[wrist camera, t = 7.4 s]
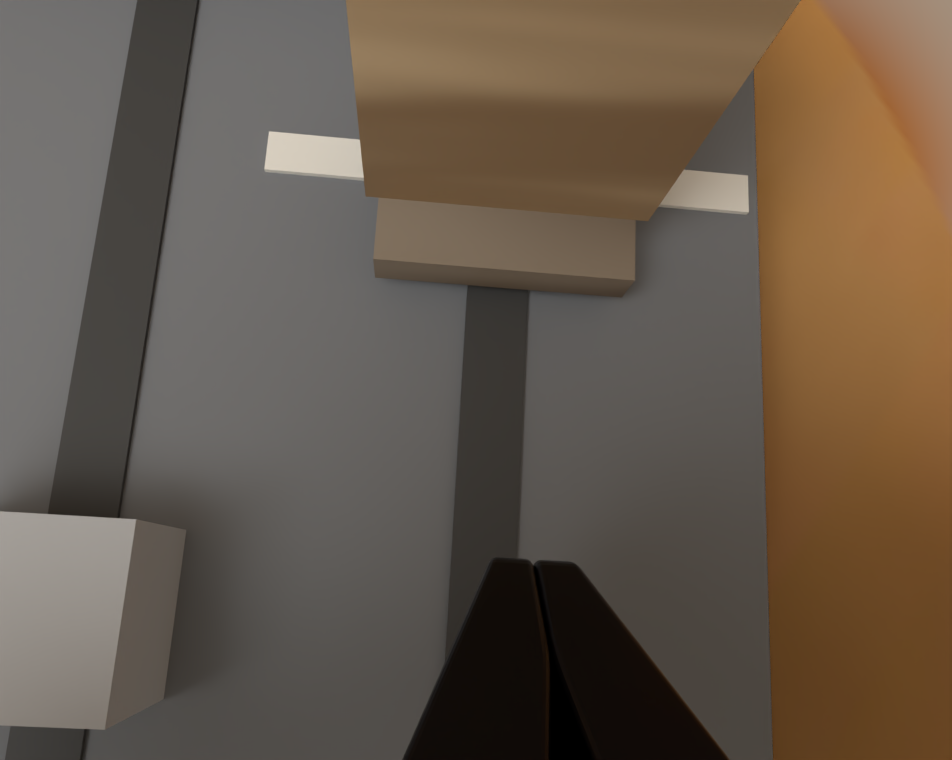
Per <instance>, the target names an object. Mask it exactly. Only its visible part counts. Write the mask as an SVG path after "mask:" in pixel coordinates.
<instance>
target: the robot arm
mask: <svg viewBox="0 0 952 760" xmlns="http://www.w3.org/2000/svg"><path fill="white" fill-rule="evenodd" d="M402 760H730V759H729V758H728V757H727V755H726V754H725V753H724V751H723V750H722V749H721V748H720V746H719V745H718V744H717V742H716V741H715V740H714V739H713V737H712V736H711V735H710V733H709V732H708V731H707V730H706V728H705V727H704V726H703V724H702V723H701V722H700V721H699V719H698V718H697V717H696V715H695V714H694V713H693V712H692V710H691V709H690V708H689V706H688V705H687V704H686V703H685V701H684V700H683V699H682V698H681V696H680V695H679V694H678V692H677V691H676V690H675V689H674V687H673V686H672V685H671V683H670V682H669V681H668V680H667V678H666V677H665V676H664V674H663V673H662V672H661V671H660V669H659V668H658V667H657V665H656V664H655V663H654V662H653V660H652V659H651V658H650V656H649V655H648V654H647V653H646V651H645V650H644V649H643V647H642V646H641V645H640V644H639V642H638V641H637V640H636V638H635V637H634V636H633V635H632V633H631V632H630V631H629V629H628V628H627V627H626V626H625V624H624V623H623V622H622V621H621V619H620V618H619V617H618V615H617V614H616V613H615V612H614V610H613V609H612V608H611V606H610V605H609V604H608V603H607V601H606V600H605V599H604V597H603V596H602V595H601V594H600V592H599V591H598V590H597V588H596V587H595V586H594V585H593V583H592V582H591V581H590V579H589V578H588V577H587V576H586V574H585V573H584V572H583V570H582V569H581V568H580V567H579V566H578V565H577V564H575V563H574V562H570V561H554V560H538V561H536V562H535V563H534V565H533V564H532V562H531V561H529V560H528V559H520V558H502V557H495V558H493V559H491V560H490V561H489V563H488V565H487V567H486V570H485V572H484V574H483V577H482V579H481V581H480V583H479V586H478V588H477V590H476V592H475V595H474V597H473V599H472V602H471V604H470V606H469V608H468V611H467V613H466V615H465V618H464V620H463V622H462V624H461V627H460V629H459V631H458V634H457V636H456V638H455V640H454V643H453V645H452V647H451V650H450V652H449V654H448V656H447V659H446V661H445V663H444V665H443V668H442V670H441V672H440V675H439V677H438V679H437V681H436V684H435V686H434V688H433V691H432V693H431V695H430V697H429V700H428V702H427V704H426V707H425V709H424V711H423V713H422V716H421V718H420V720H419V722H418V725H417V727H416V729H415V732H414V734H413V736H412V738H411V741H410V743H409V745H408V748H407V750H406V752H405V754H404V757H403V759H402Z"/></svg>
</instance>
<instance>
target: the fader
mask: <svg viewBox="0 0 952 760" xmlns="http://www.w3.org/2000/svg"><path fill="white" fill-rule="evenodd" d="M800 1H801V0H346V7H347V17H348V27H349V37H350V47H351V57H352V67H353V77H354V87H355V97H356V107H357V117H358V127H359V137H360V147H361V156H362V166H363V176H364V186H365V196H366V197H377V198H379V199H378V211H377V222H376V233H375V244H374V256H373V262H374V272H375V278H386V279H399V280H411V281H424V282H436V283H448V284H461V285H473V286H485V287H498V288H510V289H522V290H535V291H547V292H560V293H572V294H584V295H597V296H609V297H621V298H622V296H623V295H624V294H625V293H626V291H627V290H628V289H629V288H630V286H631V285H632V284H633V282H634V281H635V234H636V220H640V221H649V219H650V218H651V216H652V215H653V214H654V212H655V211H656V209H657V208H658V206H659V205H660V203H661V202H662V201H663V199H664V198H665V196H666V195H667V193H668V192H669V190H670V189H671V187H672V186H673V185H674V183H675V182H676V180H677V179H678V177H679V176H680V174H681V173H682V172H683V170H684V169H685V167H686V166H687V164H688V163H689V161H690V160H691V159H692V157H693V156H694V154H695V153H696V151H697V150H698V148H699V147H700V146H701V144H702V143H703V141H704V140H705V138H706V137H707V135H708V134H709V132H710V131H711V130H712V128H713V127H714V125H715V124H716V122H717V121H718V119H719V118H720V117H721V115H722V114H723V112H724V111H725V109H726V108H727V106H728V105H729V104H730V102H731V101H732V99H733V98H734V96H735V95H736V93H737V92H738V91H739V89H740V88H741V86H742V85H743V83H744V82H745V80H746V79H747V77H748V76H749V75H750V73H751V72H752V70H753V69H754V67H755V66H756V64H757V63H758V62H759V60H760V59H761V57H762V56H763V54H764V53H765V51H766V50H767V49H768V47H769V46H770V44H771V43H772V41H773V40H774V38H775V37H776V36H777V34H778V33H779V31H780V30H781V28H782V27H783V25H784V24H785V22H786V21H787V20H788V18H789V17H790V15H791V14H792V12H793V11H794V9H795V8H796V7H797V5H798V4H799V2H800Z"/></svg>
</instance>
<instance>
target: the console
mask: <svg viewBox="0 0 952 760" xmlns="http://www.w3.org/2000/svg"><path fill="white" fill-rule="evenodd" d="M378 199H379V198H377V197H366V196H365V186H364V176H363V166H362V156H361V147H360V137H359V127H358V117H357V107H356V97H355V87H354V77H353V67H352V57H351V47H350V37H349V27H348V17H347V7H346V0H0V760H402V759H403V757H404V754H405V752H406V750H407V748H408V745H409V743H410V741H411V738H412V736H413V734H414V732H415V729H416V727H417V725H418V722H419V720H420V718H421V716H422V713H423V711H424V709H425V707H426V704H427V702H428V700H429V697H430V695H431V693H432V691H433V688H434V686H435V684H436V681H437V679H438V677H439V675H440V672H441V670H442V668H443V665H444V663H445V661H446V659H447V656H448V654H449V652H450V650H451V647H452V645H453V643H454V640H455V638H456V636H457V634H458V631H459V629H460V627H461V624H462V622H463V620H464V618H465V615H466V613H467V611H468V608H469V606H470V604H471V602H472V599H473V597H474V595H475V592H476V590H477V588H478V586H479V583H480V581H481V579H482V577H483V574H484V572H485V570H486V567H487V565H488V563H489V561H490V560H491V559H493V558H495V557H502V558H520V559H528V560H529V561H531V562H532V564H533V565H534V563H535V562H536V561H538V560H554V561H570V562H574V563H575V564H577V565H578V566H579V567H580V568H581V569H582V570H583V572H584V573H585V574H586V576H587V577H588V578H589V579H590V581H591V582H592V583H593V585H594V586H595V587H596V588H597V590H598V591H599V592H600V594H601V595H602V596H603V597H604V599H605V600H606V601H607V603H608V604H609V605H610V606H611V608H612V609H613V610H614V612H615V613H616V614H617V615H618V617H619V618H620V619H621V621H622V622H623V623H624V624H625V626H626V627H627V628H628V629H629V631H630V632H631V633H632V635H633V636H634V637H635V638H636V640H637V641H638V642H639V644H640V645H641V646H642V647H643V649H644V650H645V651H646V653H647V654H648V655H649V656H650V658H651V659H652V660H653V662H654V663H655V664H656V665H657V667H658V668H659V669H660V671H661V672H662V673H663V674H664V676H665V677H666V678H667V680H668V681H669V682H670V683H671V685H672V686H673V687H674V689H675V690H676V691H677V692H678V694H679V695H680V696H681V698H682V699H683V700H684V701H685V703H686V704H687V705H688V706H689V708H690V709H691V710H692V712H693V713H694V714H695V715H696V717H697V718H698V719H699V721H700V722H701V723H702V724H703V726H704V727H705V728H706V730H707V731H708V732H709V733H710V735H711V736H712V737H713V739H714V740H715V741H716V742H717V744H718V745H719V746H720V748H721V749H722V750H723V751H724V753H725V754H726V755H727V757H728V758H729V759H730V760H773V744H772V709H771V673H770V637H769V602H768V566H767V530H766V494H765V459H764V423H763V387H762V352H761V316H760V280H759V245H758V209H757V173H756V138H755V102H754V69H753V70H752V72H751V73H750V75H749V76H748V77H747V79H746V80H745V82H744V83H743V85H742V86H741V88H740V89H739V91H738V92H737V93H736V95H735V96H734V98H733V99H732V101H731V102H730V104H729V105H728V106H727V108H726V109H725V111H724V112H723V114H722V115H721V117H720V118H719V119H718V121H717V122H716V124H715V125H714V127H713V128H712V130H711V131H710V132H709V134H708V135H707V137H706V138H705V140H704V141H703V143H702V144H701V146H700V147H699V148H698V150H697V151H696V153H695V154H694V156H693V157H692V159H691V160H690V161H689V163H688V164H687V166H686V167H685V169H684V170H683V172H682V173H681V174H680V176H679V177H678V179H677V180H676V182H675V183H674V185H673V186H672V187H671V189H670V190H669V192H668V193H667V195H666V196H665V198H664V199H663V201H662V202H661V203H660V205H659V206H658V208H657V209H656V211H655V212H654V214H653V215H652V216H651V218H650V219H649V221H640V220H636V234H635V281H634V282H633V284H632V285H631V286H630V288H629V289H628V290H627V291H626V293H625V294H624V295H623V296H622V298H621V297H609V296H597V295H584V294H572V293H560V292H547V291H535V290H522V289H510V288H498V287H485V286H473V285H461V284H448V283H436V282H424V281H411V280H399V279H386V278H375V272H374V262H373V256H374V244H375V233H376V222H377V211H378Z"/></svg>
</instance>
